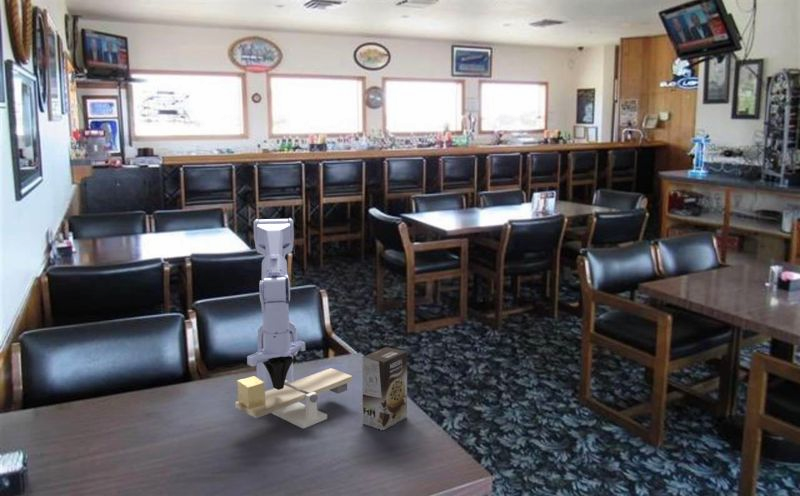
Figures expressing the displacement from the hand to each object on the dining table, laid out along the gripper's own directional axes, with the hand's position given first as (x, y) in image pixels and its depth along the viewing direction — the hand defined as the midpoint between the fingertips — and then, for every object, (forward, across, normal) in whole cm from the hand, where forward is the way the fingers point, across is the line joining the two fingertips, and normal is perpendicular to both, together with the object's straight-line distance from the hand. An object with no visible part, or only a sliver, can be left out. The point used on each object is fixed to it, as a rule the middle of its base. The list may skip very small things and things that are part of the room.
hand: (278, 388), depth 148 cm
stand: (+8, +5, 0) cm, 10 cm away
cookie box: (+9, +17, -17) cm, 26 cm away
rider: (-1, -4, +1) cm, 5 cm away
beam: (+5, +5, 0) cm, 7 cm away
